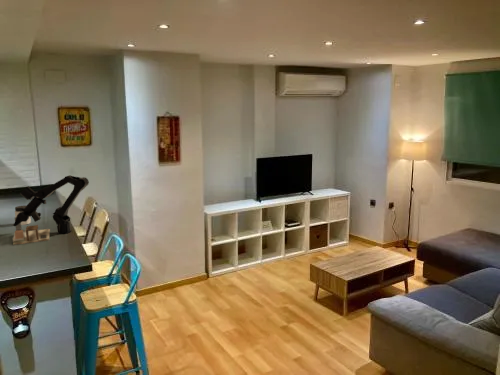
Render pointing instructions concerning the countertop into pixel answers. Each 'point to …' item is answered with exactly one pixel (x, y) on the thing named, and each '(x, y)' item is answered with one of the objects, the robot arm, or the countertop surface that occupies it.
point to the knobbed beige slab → (19, 233)
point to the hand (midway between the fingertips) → (15, 224)
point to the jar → (18, 210)
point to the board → (42, 236)
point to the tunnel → (31, 228)
